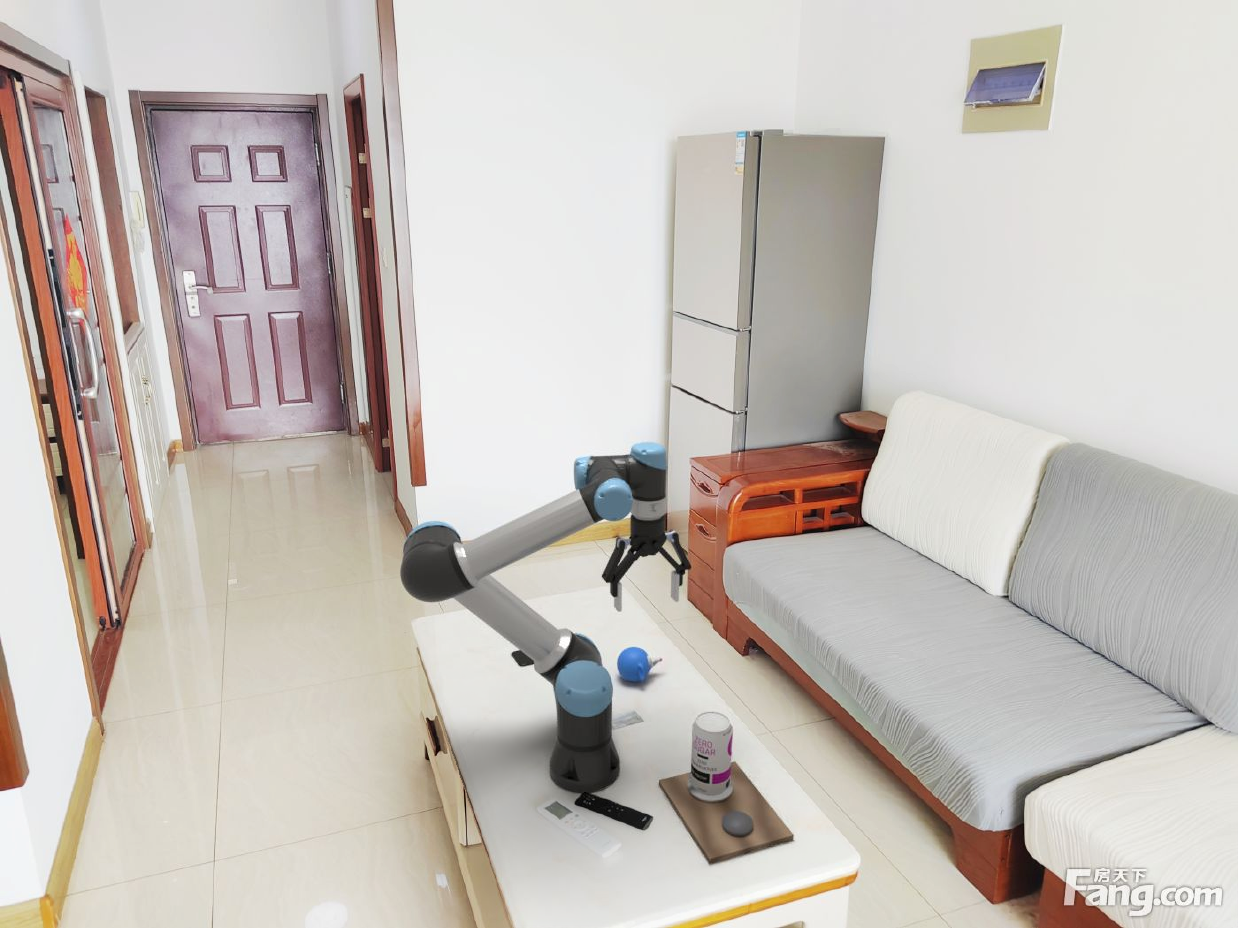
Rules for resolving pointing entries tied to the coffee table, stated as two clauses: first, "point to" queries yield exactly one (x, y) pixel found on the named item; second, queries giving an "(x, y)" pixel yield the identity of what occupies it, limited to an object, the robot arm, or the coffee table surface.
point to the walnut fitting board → (708, 816)
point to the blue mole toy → (635, 664)
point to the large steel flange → (709, 798)
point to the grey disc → (737, 823)
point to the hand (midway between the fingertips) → (646, 604)
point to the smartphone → (522, 658)
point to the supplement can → (711, 753)
